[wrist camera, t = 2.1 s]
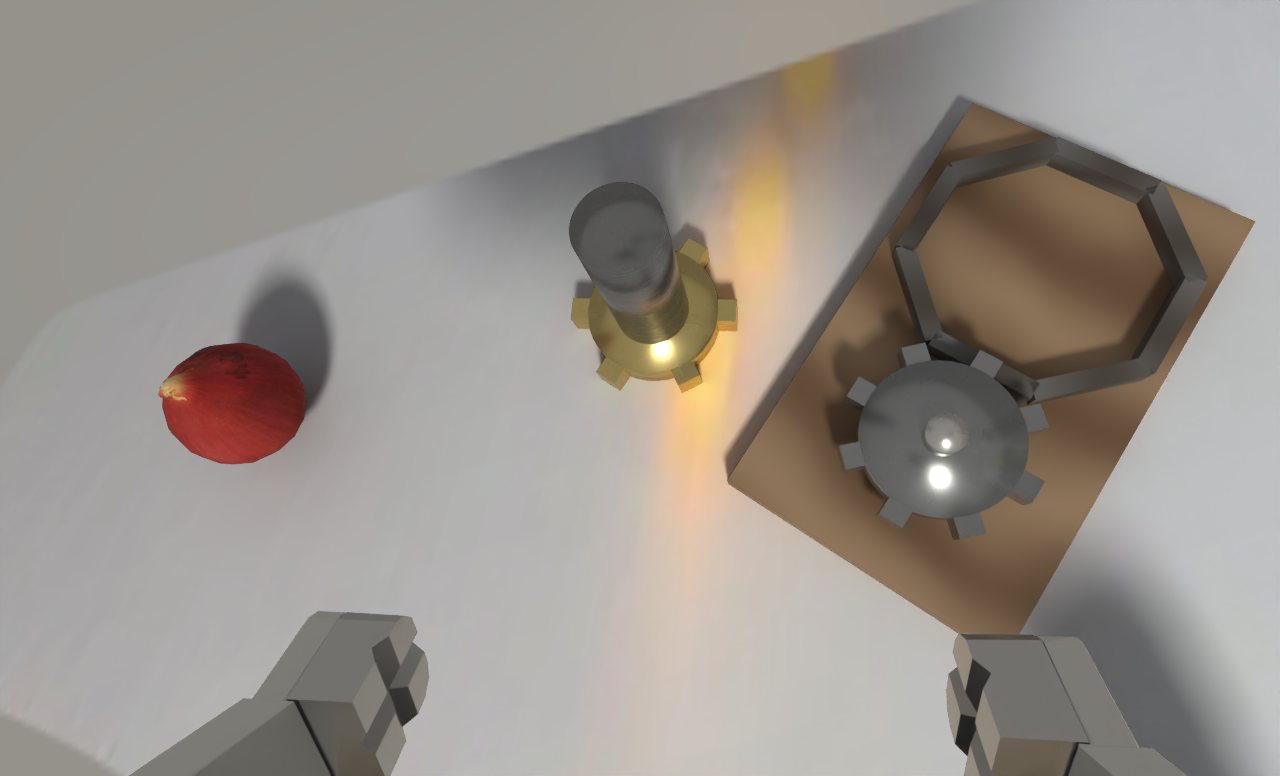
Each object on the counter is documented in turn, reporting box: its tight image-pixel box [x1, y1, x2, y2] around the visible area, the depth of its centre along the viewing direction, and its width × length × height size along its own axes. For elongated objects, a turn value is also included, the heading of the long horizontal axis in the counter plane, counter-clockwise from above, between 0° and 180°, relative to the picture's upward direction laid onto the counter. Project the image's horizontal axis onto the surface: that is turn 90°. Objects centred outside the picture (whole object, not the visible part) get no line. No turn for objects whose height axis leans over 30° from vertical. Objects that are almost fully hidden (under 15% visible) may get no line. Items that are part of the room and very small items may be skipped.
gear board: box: [727, 103, 1255, 635], centre depth 31 cm, size 22×13×2 cm, turn 145°
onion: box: [158, 343, 306, 464], centre depth 34 cm, size 6×6×8 cm
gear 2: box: [837, 343, 1049, 540], centre depth 29 cm, size 8×8×3 cm
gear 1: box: [569, 182, 738, 393], centre depth 31 cm, size 8×8×10 cm
